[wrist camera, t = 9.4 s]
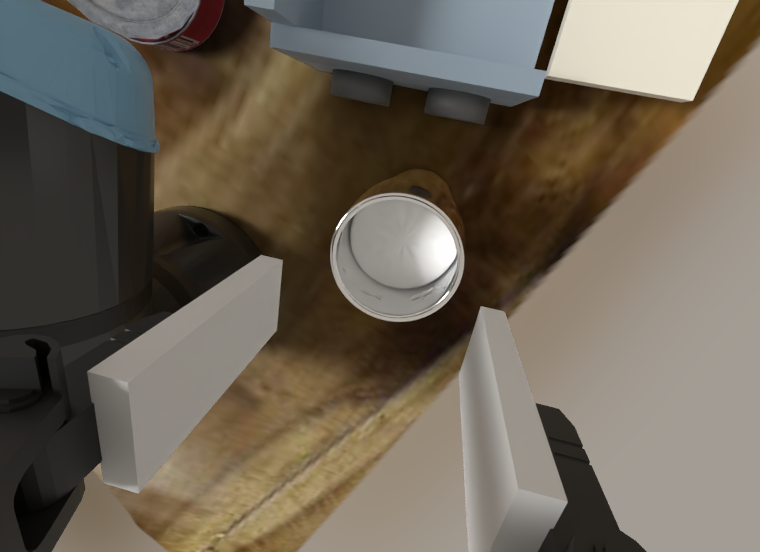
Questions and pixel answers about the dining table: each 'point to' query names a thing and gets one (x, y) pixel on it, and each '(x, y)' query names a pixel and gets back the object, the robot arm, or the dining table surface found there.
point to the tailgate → (639, 45)
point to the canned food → (156, 20)
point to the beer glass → (400, 248)
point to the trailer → (418, 48)
